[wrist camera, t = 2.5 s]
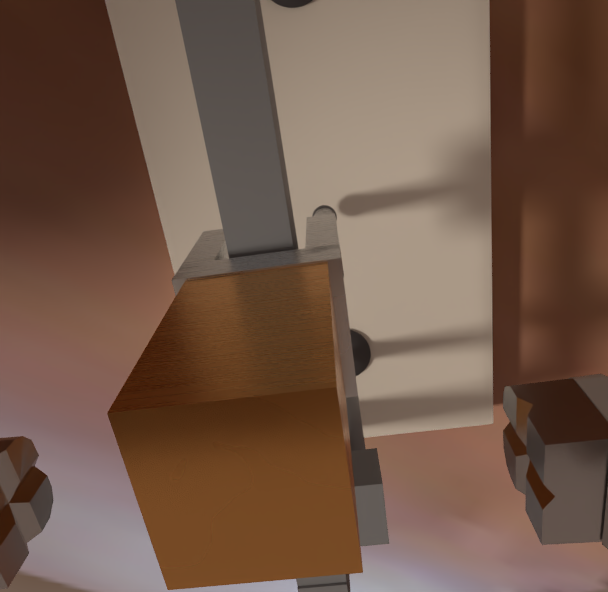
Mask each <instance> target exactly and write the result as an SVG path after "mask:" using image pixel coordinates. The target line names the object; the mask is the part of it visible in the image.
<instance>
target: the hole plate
mask: <svg viewBox="0 0 608 592" xmlns="http://www.w3.org/2000/svg"><path fill="white" fill-rule="evenodd" d="M105 3H106V7H107V11H108V15H109V19H110V23H111V27H112V31H113V35H114V39H115V43H116V47H117V50H118V54H119V58H120V62H121V66H122V70H123V74H124V78H125V82H126V86H127V90H128V94H129V98H130V102H131V105H132V109H133V113H134V117H135V121H136V125H137V129H138V133H139V137H140V141H141V145H142V149H143V153H144V157H145V161H146V164H147V168H148V172H149V176H150V180H151V184H152V188H153V192H154V196H155V200H156V204H157V208H158V212H159V216H160V219H161V223H162V227H163V231H164V235H165V239H166V243H167V247H168V251H169V255H170V259H171V263H172V267H173V271H174V275H175V274H176V273H177V271H178V270H179V268H180V266H181V265H182V263H183V262H184V260H185V259H186V257H187V256H188V254H189V253H190V251H191V250H192V248H193V246H194V245H195V243H196V242H197V240H198V239H199V237H200V236H201V234H202V233H203V231H210V230H217V229H223V232H224V236H225V241H226V246H227V251H228V255H229V258H236V257H243V256H251V255H258V254H266V253H274V252H281V251H289V250H296V249H304V248H305V244H306V220H307V217H312V215H313V212H314V210H315V209H316V208H317V207H319V206H321V205H328V206H330V207H332V208H333V209H334V210H335V212H336V215H337V220H336V223H337V230H338V236H339V243H340V250H341V257H342V264H343V271H344V286H345V294H346V302H347V310H348V318H349V326H350V334H351V343H352V351H353V359H354V367H355V375H356V383H357V391H358V396H355V397H346V404H347V414H348V425H349V435H350V445H351V455H352V466H353V476H354V486H355V496H356V507H357V517H358V527H359V538H360V546H369V545H379V544H389V538H388V529H387V520H386V511H385V502H384V493H383V484H382V478H381V472H380V466H379V459H378V453H377V448H375V449H365V442H364V438H365V437H374V436H383V435H393V434H402V433H412V432H421V431H430V430H440V429H449V428H458V427H468V426H477V425H486V424H493V338H492V227H491V115H490V4H489V0H105ZM296 580H297V585H298V592H350V580H349V574H341V575H330V576H319V577H308V578H296Z"/></svg>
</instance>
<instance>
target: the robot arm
mask: <svg viewBox="0 0 608 592" xmlns="http://www.w3.org/2000/svg"><path fill="white" fill-rule="evenodd" d="M503 409H504V411H505V413H506V415H507V417H508V418H509V420H510V423H509V424H508V425H507V426H506V428H505V429H504V430H503V441H504V452H505V458H506V464H507V467H508V471H509V474H510V477H511V479H512V481H513V484H514V486H515V488H516V489H517V490H518V491H520V492H522V493H523V494H525V495H526V512H527V514H528V516H529V519H530V521H531V523H532V525H533V527H534V529H535V531H536V533H537V536H538V538H539V540H540V542H541V544H542V545H547V544H565V543H584V542H602V545H604V546H605V547H606V548H607V549H608V377H607V376H605V375H603V374H594V375H587V376H580V377H573V378H568V379H562V380H553V381H545V382H537V383H529V384H521V385H512V386H505V389H504V394H503ZM38 456H39V455H38V453H37V451H36V449H35V446H34V444H33V442H32V440H30V439H28V438H26V437H23V436H20V437H8V438H0V589H4V588H8V587H9V586H10V584H11V582H12V581H13V579H14V577H15V576H16V574H17V572H18V571H19V569H20V567H21V566H22V564H23V562H24V561H25V559H26V557H27V556H28V554H29V551H28V546H27V542H29V541H30V540H31V539H33V538H34V537H35V536H37V535H38V534H39V533H40V532H42V530H43V529H44V527H45V525H46V523H47V522H48V520H49V518H50V514H51V509H52V504H53V494H52V487H51V484H50V482H49V479H48V476H47V475H46V474H44V473H43V472H42V471H40V470H39V469H38V468H36V467H35V464H36V461H37V459H38Z"/></svg>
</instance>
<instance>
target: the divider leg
mask: <svg viewBox="0 0 608 592" xmlns="http://www.w3.org/2000/svg"><path fill="white" fill-rule="evenodd" d="M336 220H337V215H336V212H335V210H334V209H333V208H332V207H330V206H328V205H321V206H319V207H317V208H316V209H315V210H314V212H313V215H312V217H307V220H306V244H305V248H304V249H296V250H289V251H281V252H274V253H266V254H258V255H251V256H243V257H236V258H229V255H228V251H227V246H226V241H225V236H224V232H223V229H217V230H210V231H203V233H202V234H201V236H200V237H199V239H198V240H197V242H196V243H195V245H194V246H193V248H192V250H191V251H190V253H189V254H188V256H187V257H186V259H185V260H184V262H183V263H182V265H181V266H180V268H179V270H178V271H177V273H176V274H175V276H174V277H173V279H172V283H173V287H174V291H175V295H176V297H175V299H174V300H173V302H172V304H171V306H170V307H169V309H168V311H167V312H166V314H165V316H164V317H163V319H162V321H161V323H160V324H159V326H158V328H157V329H156V331H155V333H154V334H153V336H152V338H151V340H150V341H149V343H148V345H147V346H146V348H145V350H144V351H143V353H142V355H141V357H140V358H139V360H138V362H137V363H136V365H135V367H134V368H133V370H132V372H131V374H130V375H129V377H128V379H127V380H126V382H125V384H124V386H123V387H122V389H121V391H120V392H119V394H118V396H117V397H116V399H115V401H114V403H113V404H112V406H111V408H110V409H109V411H108V413H107V414H108V417H109V420H110V423H111V426H112V429H113V432H114V434H115V437H116V440H117V443H118V446H119V449H120V452H121V455H122V458H123V461H124V464H125V467H126V469H127V472H128V475H129V478H130V481H131V484H132V487H133V490H134V493H135V496H136V499H137V501H138V504H139V507H140V510H141V513H142V516H143V519H144V522H145V525H146V528H147V531H148V534H149V536H150V539H151V542H152V545H153V548H154V551H155V554H156V557H157V560H158V563H159V566H160V569H161V571H162V574H163V577H164V580H165V583H166V586H167V589H168V590H173V589H185V588H196V587H207V586H218V585H229V584H240V583H252V582H263V581H274V580H285V579H296V578H308V577H319V576H330V575H341V574H352V573H363V568H362V558H361V548H360V538H359V527H358V517H357V507H356V496H355V486H354V476H353V466H352V455H351V445H350V435H349V425H348V414H347V404H346V397H355V396H358V391H357V383H356V375H355V367H354V359H353V351H352V343H351V334H350V326H349V318H348V310H347V302H346V294H345V286H344V271H343V264H342V257H341V250H340V243H339V236H338V230H337V223H336Z"/></svg>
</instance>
